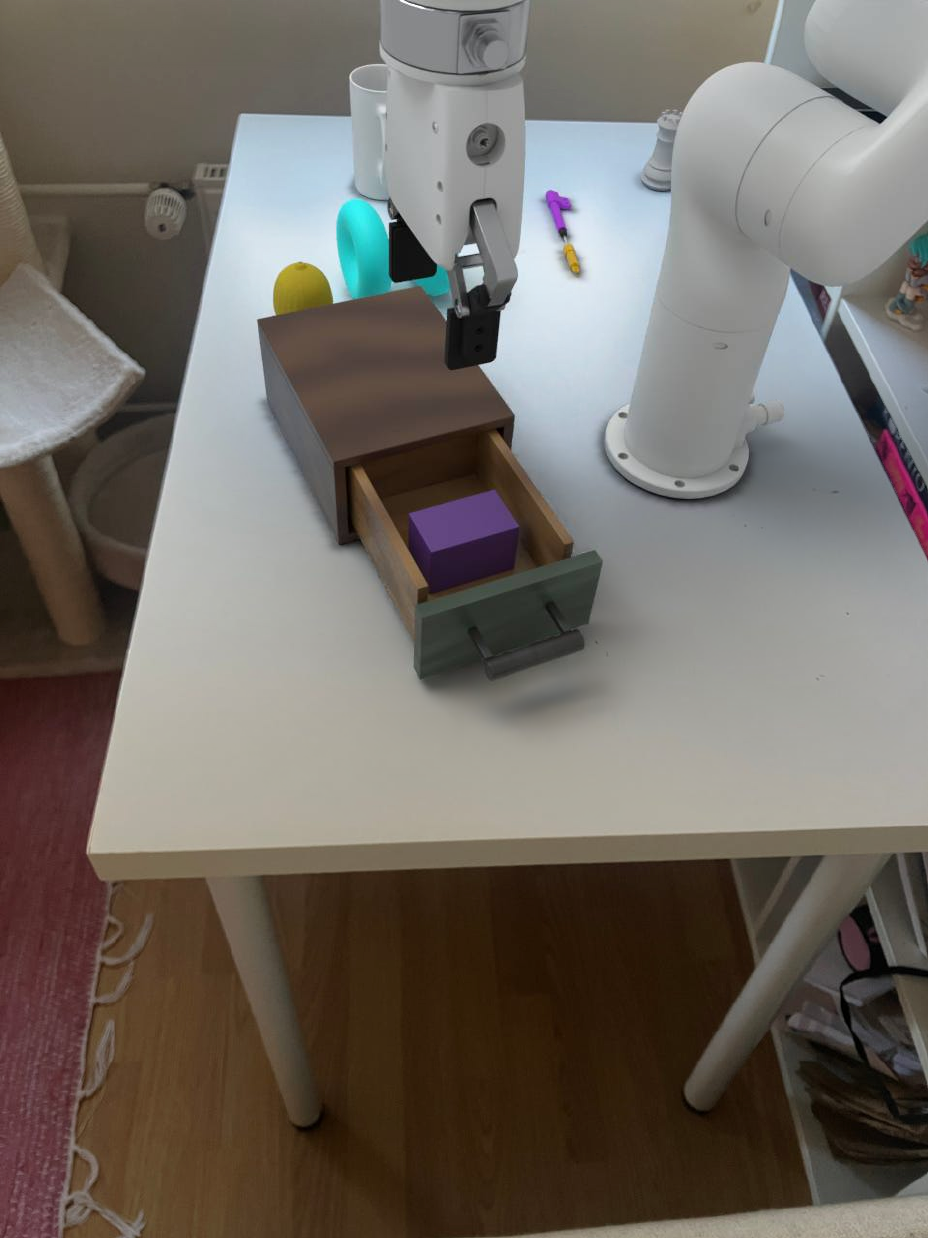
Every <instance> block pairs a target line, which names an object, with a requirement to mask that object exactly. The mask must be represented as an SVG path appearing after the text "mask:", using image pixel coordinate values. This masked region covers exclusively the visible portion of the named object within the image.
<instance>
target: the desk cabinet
mask: <svg viewBox="0 0 928 1238" xmlns="http://www.w3.org/2000/svg"><path fill="white" fill-rule="evenodd" d="M446 321H447V319H446V318H445V317H444V315H443V314H442V312H441V311H440V310H439V308H438V307H437V306H436V304H435V303H434V301H433V300H432V299H431V297H430V295H429V294H427V293H426V292H425V291H424V289H423V288H422V287H421V286H417V285H416V286H413V287H408V288H407V287H406V288H403V289H402V288H401V289H397V290H393V291H392V290H391V291H389V292H387V293H382V294H378V295H373V296H368V297H363V298H358V299H354V298H352V299H349V300H344V301H340V302H335V303H334V302H333V304H329V305H324V306H319V307H314V308H309V309H305V310H300V311H295V312H290V313H285V314H280V315H276V314H274V315H271V316H265V317H261V318H257V319H256V322H257V323H256V324H257V331H258V340H259V347H260V356H261V363H262V373H263V380H264V381H263V382H264V388H265V396H266V402H267V406H268V407H269V409H270V412H271V413H272V415H273V417H274V419H275V421H276V423H277V425H278V427H279V429H280V431H281V433H282V435H283V437H284V439H285V441H286V443H287V445H288V447H289V450H290V451H291V453H292V455H293V457H294V459H295V461H296V463H297V465H298V467H299V469H300V471H301V473H302V474H303V477H304V479H305V481H306V483H307V484H308V485H307V486H309V489H310V491H311V493H312V496H313V497H314V498H315V501H316V503H317V505H318V506H319V508H320V510H321V512H322V513H321V514H323V516H324V519H325V520H326V523H327V525H328V526H329V529H330V530H331V532H332V535H333V536H334V539H335V540H336V542H337V544H338V545H343V544H347V543H351V542H353V541H357V540H361V539H360V538H359V536H358V534H357V532H356V530H355V528H354V526H353V524H352V522H351V520H350V518H349V517H348V511H347V492H346V473H345V467H349V466H353V465H357V464H361V463H364V462H368V461H372V460H376V459H380V458H384V457H388V456H392V455H396V454H399V453H403V452H407V451H411V450H415V449H419V448H423V447H427V446H430V445H434V444H438V443H442V442H446V441H450V440H454V439H458V438H461V437H465V436H469V435H473V434H477V433H481V432H485V431H489V430H493V429H496V430H497V432H498V433H499V434H500V436H501V437H502V439H503V440H504V442H505V443H506V445H507V446H508V447H509V449H510V450H511V451H512V448H513V447H512V446H513V438H514V430H515V421H516V415H515V413H514V412H513V411H512V409H511V408H510V406H509V404H508V403H507V402H506V401H505V399H504V398H503V397H502V395H501V394H500V392H499V391H498V390H497V388H496V387H495V385H494V384H493V382H491V380H490V379H489V377H488V376H487V375H486V373H485V372H484V371H483V369H482V367H481V366H480V365H476V366H471V367H466V368H461V369H457V370H449V369H448V367H447V366H446V364H445V362H444V358H445V339H446Z"/></svg>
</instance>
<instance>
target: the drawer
mask: <svg viewBox="0 0 928 1238" xmlns="http://www.w3.org/2000/svg"><path fill="white" fill-rule="evenodd" d="M345 473H346V492H347V511H348V517H349V518H350V520H351V522H352V524H353V526H354V528H355V530H356V532H357V534H358V536H359V538H360V539H359V540H360V542H361V543H362V545H363V548H364V549H365V551H366V553H367V555H368V557H369V558H370V561H371V562H372V564H373V566H374V568H375V570H376V571H377V574H378V577H380V579H381V581H382V583H383V585H384V587H385V589H386V591H387V593H388V595H389V596H390V599H391V601H392V603H393V604H394V606H395V608H396V611H397V612H398V614H399V615H400V617H401V620H402V622H403V623H404V625H405V628H406V629H407V631H408V633H409V635H410V637H411V639H412V641H413V669H414V671H415V673H416V675H417V677H418V679H419V681H420V680H421V681H422V680H424V679H426V678H429V677H433V676H435V675H436V676H437V675H440V674H441V673H445V672H448V671H451V670H454V669H456V668H460V667H464V666H466V665H468V664H472V663H475V662H478V661H482V668H483V672H484V675H485V677H486V678H487V679H488V681H490V682H493V681H495V680H499V679H501V678H504V677H507V676H510V675H513V674H515V673H520V672H523V671H525V670H528V669H531V668H533V667H536V666H539V665H542V664H546V663H548V662H551V661H554V660H557V659H560V658H563V657H565V656H566V657H567V656H568V655H572V654H574V653H577V652H581V651H583V650H584V649H585V647H586V645H585V639H584V636H583V634H582V632H581V630H579V629H577V628H580V627H583V626H587V625H588V624H589V622H590V619H591V615H592V611H593V606H594V603H595V602H594V601H595V598H596V594H597V589H598V584H599V582H600V577H601V574H602V573H601V572H602V568H603V565H604V564H603V563H604V560H603V559H602V557H601V556H600V555H599V553H598V552H597V551H596V550H595V549H593V550H590V551H586V552H583V553H579V554H577V555H573V551H574V545H575V540H574V539H573V537H572V536H571V534H570V533H569V532H568V530H567V529H566V527H565V526H564V524H563V523H562V521H561V520H560V519H559V517H558V516H557V514H556V513H555V512H554V510H553V509H552V507H551V506H550V504H549V503H548V501H547V500H546V498H545V497H544V496H543V494H542V493H541V492H540V489H538V487H537V486H536V484H535V483H534V482H533V480H532V479H531V477H530V476H529V474H528V473H527V472H526V470H525V469H524V467H523V466H522V464H521V463H520V462H519V460H518V459H517V458H516V456H515V454H514V453H513V451H512V449H511V450H510V449H509V447H508V446H507V445H506V443H505V442H504V440H503V439H502V437H501V436H500V434H499V433H498V432H497V430H496V429H493V430H489V431H485V432H481V433H477V434H473V435H469V436H465V437H461V438H458V439H454V440H450V441H446V442H442V443H438V444H434V445H430V446H427V447H423V448H419V449H415V450H411V451H407V452H403V453H399V454H396V455H392V456H388V457H384V458H380V459H376V460H372V461H368V462H364V463H361V464H357V465H353V466H349V467H345ZM491 490H496V492H497V493H498V495H499V496H500V498H501V499H502V501H503V502H504V504H505V505H506V507H507V508H508V510H509V511H510V513H511V514H512V516H513V517H514V519H515V520H516V522H517V523H518V525H519V526H520V528H519V535H518V543H517V550H516V557H515V565H514V569H512V570H509V571H505V572H502V573H499V574H496V575H492V576H489V577H486V578H482V579H479V580H476V581H473V582H469V583H466V584H463V585H460V586H456V587H453V588H450V589H446V590H443V591H440V592H437V593H433V594H429V593H428V584H427V582H426V581H425V579H424V577H423V575H422V573H421V572H420V570H419V568H418V566H417V565H416V563H415V561H414V559H413V557H412V556H411V554H410V552H409V550H408V534H409V513H412V512H416V511H419V510H423V509H427V508H430V507H434V506H437V505H441V504H445V503H448V502H452V501H455V500H459V499H463V498H466V497H470V496H473V495H477V494H481V493H484V492H488V491H491Z"/></svg>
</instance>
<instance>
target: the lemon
mask: <svg viewBox="0 0 928 1238" xmlns="http://www.w3.org/2000/svg"><path fill="white" fill-rule="evenodd" d="M333 296H334V295H333V291H332V289H331V286H330V282H329V280H328V278H327V276H326V275H325V274H324V272H323V271H322V270H321V269H320V268H318V267H317V266H316V265H314V264H312V263H308V262H304V261H297V262H294V263H290V264H289V265H287V266H285V267H284V268H283V269H282V270H281V271H280V272H279V273H278V275H277V277H276V279H275V281H274V285H273V292H272V305H273V312H274V315H280V314H285V313H290V312H295V311H300V310H305V309H309V308H314V307H319V306H324V305H329V304H334V297H333Z"/></svg>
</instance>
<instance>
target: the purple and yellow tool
mask: <svg viewBox="0 0 928 1238" xmlns="http://www.w3.org/2000/svg"><path fill="white" fill-rule="evenodd" d="M544 197H545V200H546V203H547V206H548V208H549V209H550V210H549V211H550V213H551V215H552V218H553V222H554V224H555V228H556V230H557V234H558V235H559V237H560V238H561V239H563V240H564V243H565V245H563V248H562V251H563V253H564V256H565V258H566V260H567V263H568V266H569V269H570V270H571V271H572V272H573V273H576V274H580V272H581V271H580V264H579V260H578V258H577V255H576V254H577V252H576V249H575V247H574V245H573V244H572V243H568V240H567V237H568V228H567V226H566V222H565V220H564V217H563V213H562V211H561V209H563V210H567V211H570V210H571V207H572V205H571V202H570V199H569V198H568V197H565V196H561V195H560V194H559V192H558V191H555V190H552V189H549V190H547V191H546V192H545V196H544Z"/></svg>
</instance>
